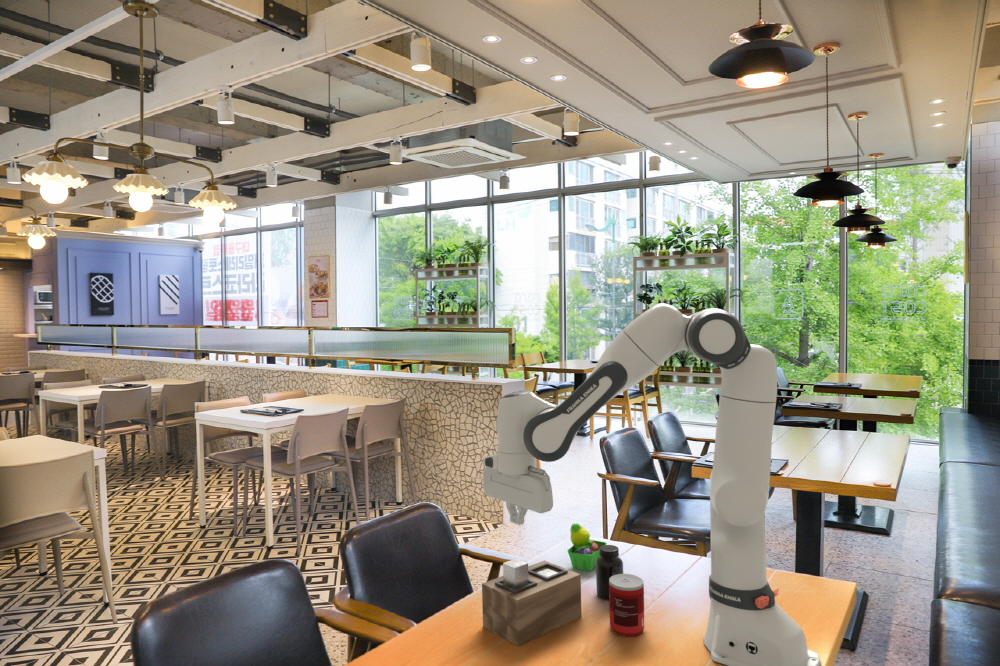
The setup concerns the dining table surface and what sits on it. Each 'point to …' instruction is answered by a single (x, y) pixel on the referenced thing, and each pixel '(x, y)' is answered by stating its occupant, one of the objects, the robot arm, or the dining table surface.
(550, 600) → the socket block
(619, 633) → the canned food
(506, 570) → the peg
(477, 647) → the dining table surface
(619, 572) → the supplement bottle
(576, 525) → the fruit basket
